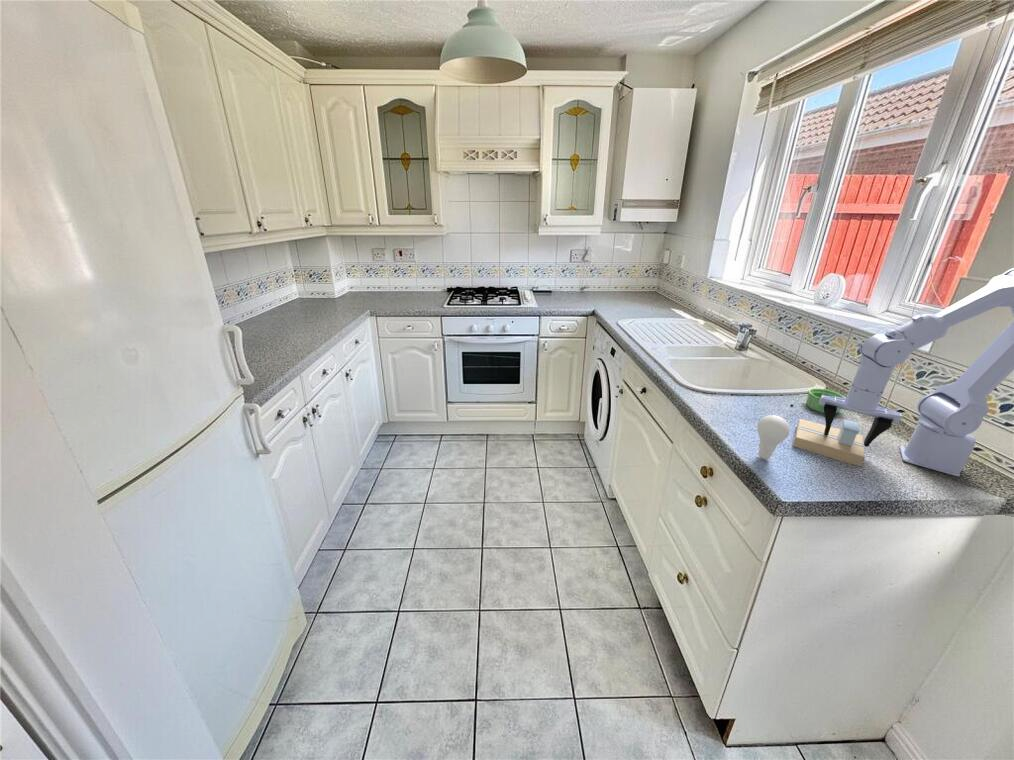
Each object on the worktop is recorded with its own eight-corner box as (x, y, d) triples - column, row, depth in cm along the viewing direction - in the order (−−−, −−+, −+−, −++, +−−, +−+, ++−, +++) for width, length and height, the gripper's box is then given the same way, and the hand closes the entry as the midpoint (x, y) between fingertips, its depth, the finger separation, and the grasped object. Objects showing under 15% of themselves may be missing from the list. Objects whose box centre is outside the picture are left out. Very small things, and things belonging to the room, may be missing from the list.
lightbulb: (768, 451, 97) (781, 410, 93) (784, 466, 92) (800, 424, 87) (742, 450, 97) (755, 410, 93) (757, 466, 91) (772, 423, 87)
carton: (858, 444, 101) (862, 435, 100) (860, 466, 93) (864, 456, 92) (796, 427, 108) (799, 418, 107) (792, 446, 100) (796, 436, 99)
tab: (852, 437, 99) (858, 422, 97) (852, 446, 95) (859, 431, 94) (837, 433, 100) (843, 419, 99) (837, 442, 97) (843, 427, 95)
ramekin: (797, 404, 122) (801, 390, 120) (815, 399, 125) (820, 386, 124) (829, 417, 114) (834, 403, 113) (847, 412, 118) (853, 398, 116)
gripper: (907, 390, 91) (883, 442, 97) (828, 374, 99) (810, 422, 105) (911, 401, 86) (885, 455, 91) (827, 383, 94) (808, 433, 99)
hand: (845, 439), depth 98 cm, fingers open, 7 cm apart
